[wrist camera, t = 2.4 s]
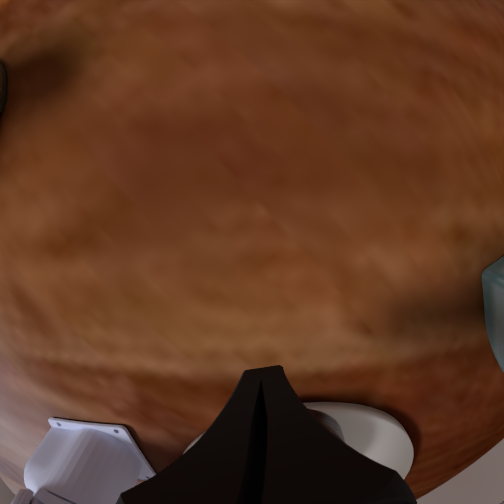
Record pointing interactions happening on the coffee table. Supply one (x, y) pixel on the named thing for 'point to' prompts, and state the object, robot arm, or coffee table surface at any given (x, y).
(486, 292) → the flower pot
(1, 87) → the owl figurine
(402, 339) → the coffee table surface
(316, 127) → the coffee table surface
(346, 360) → the coffee table surface
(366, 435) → the turntable
